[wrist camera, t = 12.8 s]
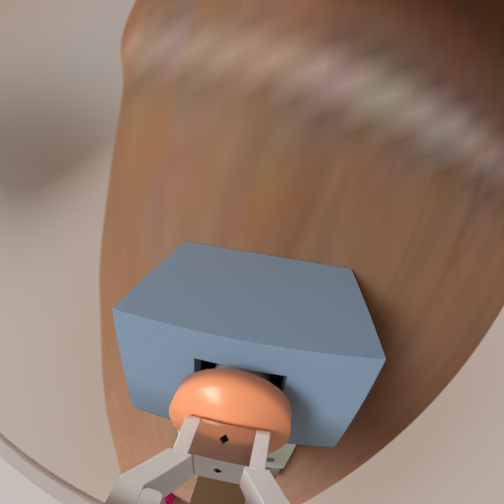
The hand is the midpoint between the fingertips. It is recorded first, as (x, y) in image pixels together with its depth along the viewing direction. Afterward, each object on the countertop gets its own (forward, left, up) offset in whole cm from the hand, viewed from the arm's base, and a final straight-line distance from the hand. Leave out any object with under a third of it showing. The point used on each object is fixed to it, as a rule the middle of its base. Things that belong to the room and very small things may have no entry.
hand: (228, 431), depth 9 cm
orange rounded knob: (0, 0, -5) cm, 5 cm away
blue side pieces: (0, 0, -10) cm, 10 cm away
